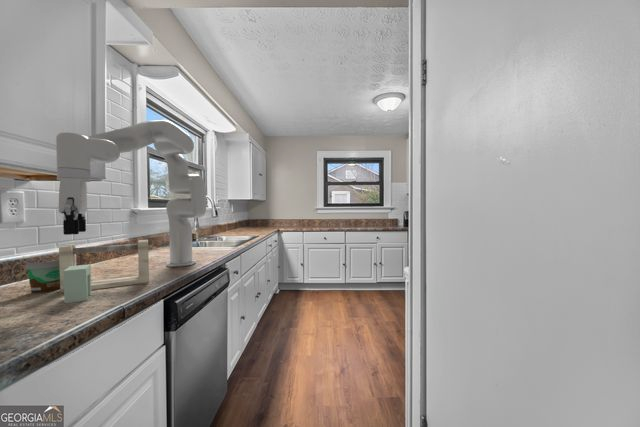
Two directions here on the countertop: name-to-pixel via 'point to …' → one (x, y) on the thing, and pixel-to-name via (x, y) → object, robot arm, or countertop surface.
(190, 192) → the robot arm
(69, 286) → the sage green brick
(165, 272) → the countertop surface
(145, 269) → the shelf stand
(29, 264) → the food container
